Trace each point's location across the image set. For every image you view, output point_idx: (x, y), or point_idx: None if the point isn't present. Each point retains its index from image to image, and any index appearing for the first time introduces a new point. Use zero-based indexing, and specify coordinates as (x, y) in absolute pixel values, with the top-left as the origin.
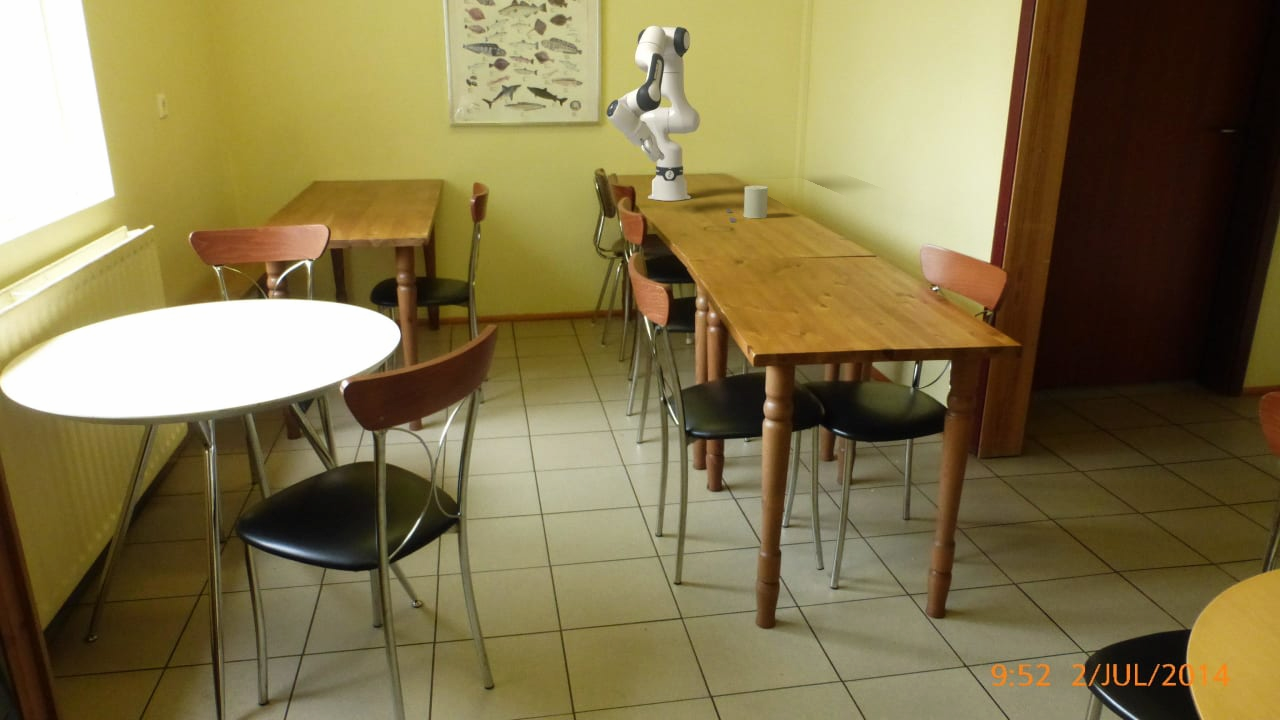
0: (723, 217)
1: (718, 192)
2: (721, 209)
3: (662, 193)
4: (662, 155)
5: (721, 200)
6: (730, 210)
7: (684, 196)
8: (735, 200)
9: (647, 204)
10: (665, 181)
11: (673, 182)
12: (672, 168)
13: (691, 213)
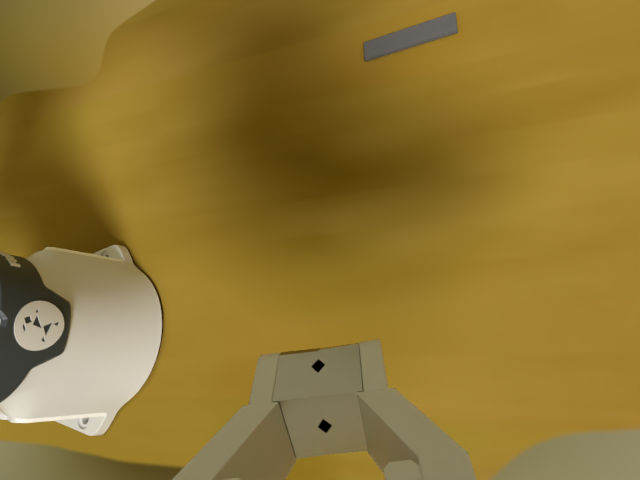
0: (608, 13)
1: (33, 167)
2: (359, 81)
3: (121, 366)
4: (384, 381)
5: (162, 128)
6: (405, 31)
7: (127, 266)
8: (167, 81)
9: None
10: (68, 350)
11: (79, 307)
12: (2, 305)
13: (491, 196)
